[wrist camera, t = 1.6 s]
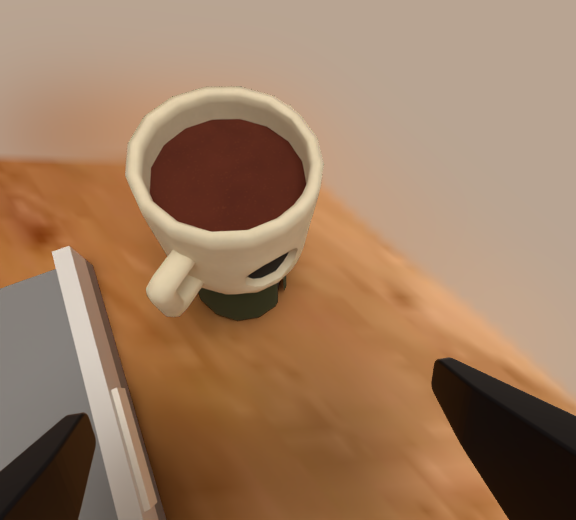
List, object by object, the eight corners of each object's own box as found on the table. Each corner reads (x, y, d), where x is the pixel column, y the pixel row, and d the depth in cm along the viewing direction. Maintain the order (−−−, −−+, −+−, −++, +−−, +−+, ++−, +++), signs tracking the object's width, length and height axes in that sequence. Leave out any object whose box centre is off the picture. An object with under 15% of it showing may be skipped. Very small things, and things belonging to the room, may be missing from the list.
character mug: (247, 375, 22) (234, 338, 10) (152, 321, 22) (33, 227, 10) (319, 240, 26) (373, 99, 14) (238, 200, 27) (222, 33, 15)
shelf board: (-39, 685, 15) (-109, 752, 12) (-74, 325, 21) (-127, 312, 18) (183, 555, 18) (168, 585, 15) (97, 264, 24) (74, 244, 21)
